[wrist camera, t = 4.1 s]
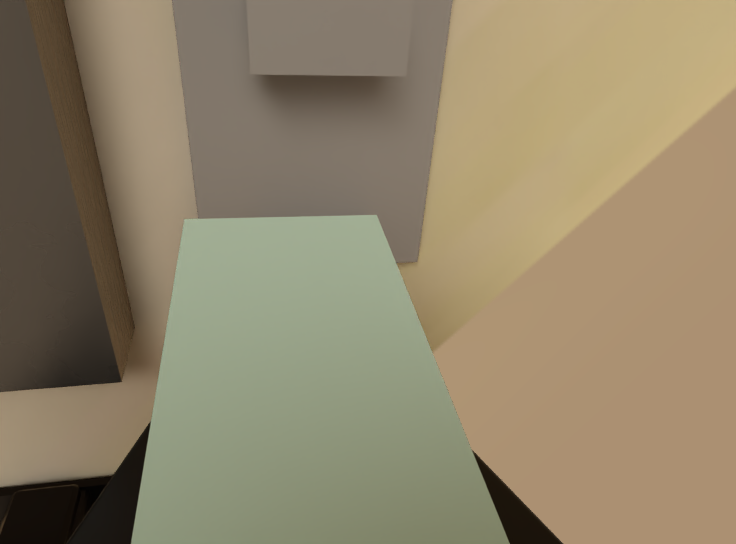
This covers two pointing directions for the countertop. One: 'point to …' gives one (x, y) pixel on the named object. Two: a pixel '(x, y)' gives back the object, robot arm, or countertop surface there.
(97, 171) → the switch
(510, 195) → the countertop surface
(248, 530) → the plug
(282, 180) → the holster
